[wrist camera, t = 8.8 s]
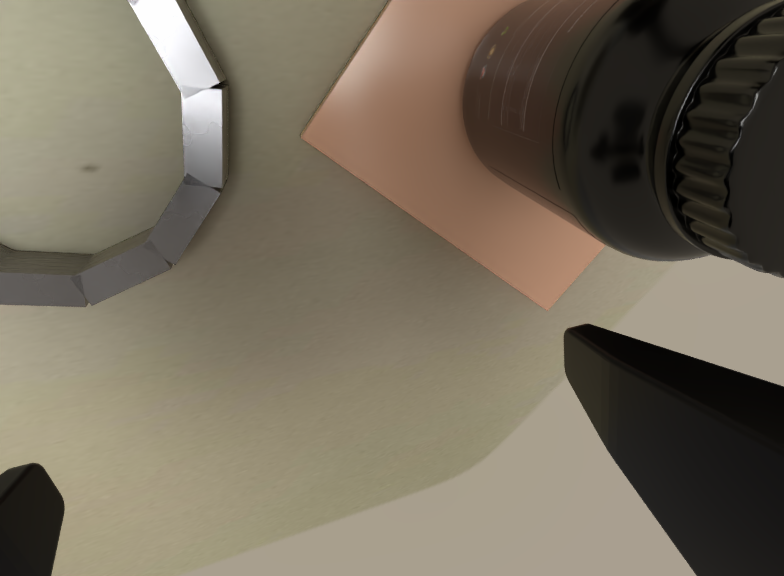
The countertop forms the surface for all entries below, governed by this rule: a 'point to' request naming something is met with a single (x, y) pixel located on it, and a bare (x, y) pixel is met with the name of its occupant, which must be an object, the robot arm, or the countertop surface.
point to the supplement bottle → (641, 122)
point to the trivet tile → (441, 145)
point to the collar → (187, 207)
